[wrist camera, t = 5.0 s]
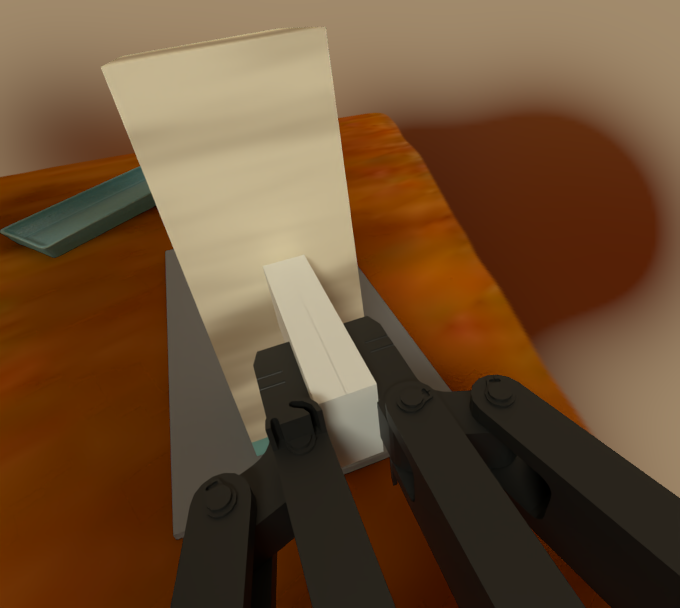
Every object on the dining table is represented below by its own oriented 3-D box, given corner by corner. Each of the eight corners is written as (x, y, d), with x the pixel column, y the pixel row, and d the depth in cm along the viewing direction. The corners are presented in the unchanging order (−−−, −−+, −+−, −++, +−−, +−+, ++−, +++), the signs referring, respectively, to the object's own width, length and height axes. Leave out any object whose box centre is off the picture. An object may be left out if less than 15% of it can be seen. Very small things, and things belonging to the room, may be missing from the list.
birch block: (376, 412, 21) (325, 26, 12) (256, 456, 20) (100, 67, 11) (338, 341, 26) (280, 28, 17) (239, 374, 25) (121, 56, 16)
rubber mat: (471, 424, 21) (472, 419, 20) (176, 539, 18) (173, 535, 18) (317, 215, 41) (316, 211, 41) (166, 255, 38) (165, 251, 38)
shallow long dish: (54, 267, 40) (39, 244, 38) (9, 248, 44) (-6, 227, 43) (245, 164, 56) (240, 145, 55) (198, 158, 61) (192, 140, 59)
